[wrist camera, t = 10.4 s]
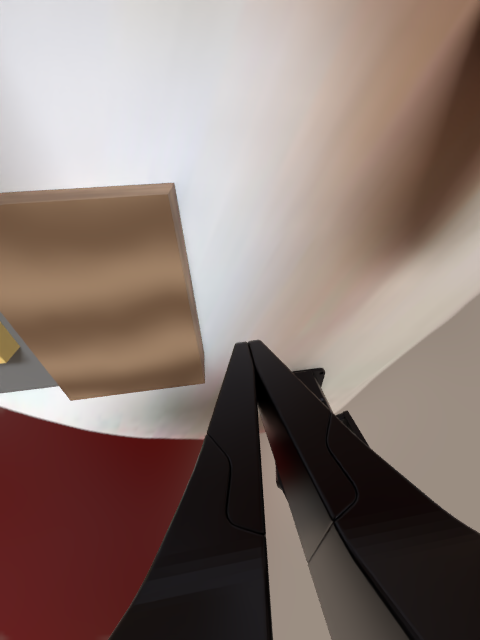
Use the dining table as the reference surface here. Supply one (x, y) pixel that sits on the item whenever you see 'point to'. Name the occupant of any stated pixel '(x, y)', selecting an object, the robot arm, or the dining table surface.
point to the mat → (22, 367)
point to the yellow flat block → (6, 345)
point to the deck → (101, 287)
